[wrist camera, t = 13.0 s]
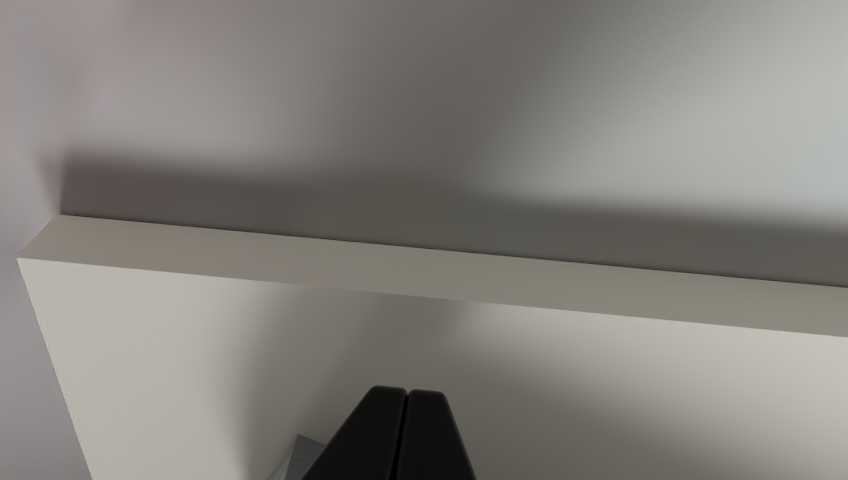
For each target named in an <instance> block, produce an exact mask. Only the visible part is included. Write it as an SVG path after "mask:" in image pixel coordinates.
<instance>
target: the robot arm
mask: <svg viewBox="0 0 848 480" xmlns="http://www.w3.org/2000/svg"><path fill="white" fill-rule="evenodd" d="M299 480H477V478H476V475H475V473H474V470H473V467H472V465H471V462H470V459H469V457H468V454H467V451H466V448H465V446H464V443H463V440H462V438H461V435H460V432H459V430H458V427H457V424H456V421H455V419H454V416H453V413H452V411H451V408H450V405H449V403H448V400H447V398H446V396H445V394H444V393H442V392H440V391H432V390H422V389H413V390H411V391H410V392H409V394H408V393H407V391H406V390H405V389H404V388H402V387H392V386H381V385H375V386H373V387H371V388H370V389H369V390H368V392H367V393H366V394H365V395H364V397H363V398H362V399H361V401H360V402H359V403H358V404H357V406H356V407H355V408H354V410H353V411H352V412H351V414H350V415H349V416H348V417H347V419H346V420H345V421H344V423H343V424H342V425H341V426H340V428H339V429H338V430H337V432H336V433H335V434H334V435H333V437H332V438H331V439H330V441H329V442H328V443H327V444H326V446H325V447H324V448H323V450H322V451H321V452H320V454H319V455H318V456H317V457H316V459H315V460H314V461H313V463H312V464H311V465H310V466H309V468H308V469H307V470H306V472H305V473H304V474H303V475H302V477H301V478H300V479H299Z"/></svg>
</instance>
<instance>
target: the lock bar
mask: <svg viewBox="0 0 848 480" xmlns="http://www.w3.org/2000/svg"><path fill="white" fill-rule="evenodd" d="M325 446H326V445H324V444H322V443H320V442H317V441H315V440H312V439H310V438H307V437H305V436H303V435H300V434H297V436H296V437H295V439H294V440H293V442H292V444H291V445H290V447H289V448H288V450H287V451H286V453H285V454H284V456H283V457H282V459H281V460H280V462H279V463H278V465H277V466H276V468H275V469H274V471H273V472H272V474H271V475H270V477H269V478H268V480H299V479H300V478H301V477H302V475H303V474H304V473H305V472H306V470H307V469H308V468H309V466H310V465H311V464H312V463H313V461H314V460H315V459H316V457H317V456H318V455H319V454H320V452H321V451H322V450H323V448H324V447H325Z"/></svg>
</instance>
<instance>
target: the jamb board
mask: <svg viewBox="0 0 848 480" xmlns="http://www.w3.org/2000/svg"><path fill="white" fill-rule="evenodd" d="M16 259H17V262H18V265H19V268H20V271H21V274H22V276H23V279H24V282H25V285H26V288H27V291H28V294H29V297H30V300H31V303H32V306H33V309H34V312H35V314H36V317H37V320H38V323H39V326H40V329H41V332H42V335H43V338H44V341H45V344H46V347H47V350H48V352H49V355H50V358H51V361H52V364H53V367H54V370H55V373H56V376H57V379H58V382H59V385H60V387H61V390H62V393H63V396H64V399H65V402H66V405H67V408H68V411H69V414H70V417H71V420H72V423H73V425H74V428H75V431H76V434H77V437H78V440H79V443H80V446H81V449H82V452H83V455H84V458H85V461H86V463H87V466H88V469H89V472H90V475H91V478H92V480H268V478H269V477H270V475H271V474H272V472H273V471H274V469H275V468H276V466H277V465H278V463H279V462H280V460H281V459H282V457H283V456H284V454H285V453H286V451H287V450H288V448H289V447H290V445H291V444H292V442H293V440H294V439H295V437H296V436H297V434H300V435H303V436H305V437H307V438H310V439H312V440H315V441H317V442H320V443H322V444H324V445H326V444H327V443H328V442H329V441H330V439H331V438H332V437H333V435H334V434H335V433H336V432H337V430H338V429H339V428H340V426H341V425H342V424H343V423H344V421H345V420H346V419H347V417H348V416H349V415H350V414H351V412H352V411H353V410H354V408H355V407H356V406H357V404H358V403H359V402H360V401H361V399H362V398H363V397H364V395H365V394H366V393H367V392H368V390H369V389H370V388H371V387H373V386H375V385H381V386H392V387H402V388H404V389H405V390H406V391H407V393H408V394H409V392H410V391H411V390H413V389H422V390H432V391H440V392H442V393H444V394H445V396H446V398H447V400H448V403H449V405H450V408H451V411H452V413H453V416H454V419H455V421H456V424H457V427H458V430H459V432H460V435H461V438H462V440H463V443H464V446H465V448H466V451H467V454H468V457H469V459H470V462H471V465H472V467H473V470H474V473H475V475H476V478H477V480H848V288H842V287H831V286H821V285H810V284H799V283H788V282H778V281H767V280H756V279H745V278H735V277H724V276H713V275H702V274H692V273H681V272H670V271H659V270H649V269H638V268H627V267H616V266H606V265H595V264H584V263H573V262H563V261H552V260H541V259H530V258H520V257H509V256H498V255H487V254H477V253H466V252H455V251H445V250H434V249H423V248H412V247H402V246H391V245H380V244H369V243H359V242H348V241H337V240H326V239H316V238H305V237H294V236H283V235H273V234H262V233H251V232H240V231H230V230H219V229H208V228H197V227H187V226H176V225H165V224H154V223H144V222H133V221H122V220H111V219H101V218H90V217H79V216H68V215H58V214H57V215H56V216H55V217H54V218H53V219H52V220H51V221H50V222H49V223H48V224H47V225H46V227H45V228H44V229H43V230H42V231H41V232H40V233H39V234H38V235H37V236H36V237H35V238H34V239H33V240H32V241H31V242H30V243H29V244H28V245H27V247H26V248H25V249H24V250H23V251H22V252H21V253H20V254H19V255H18V256H17V257H16Z"/></svg>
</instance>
